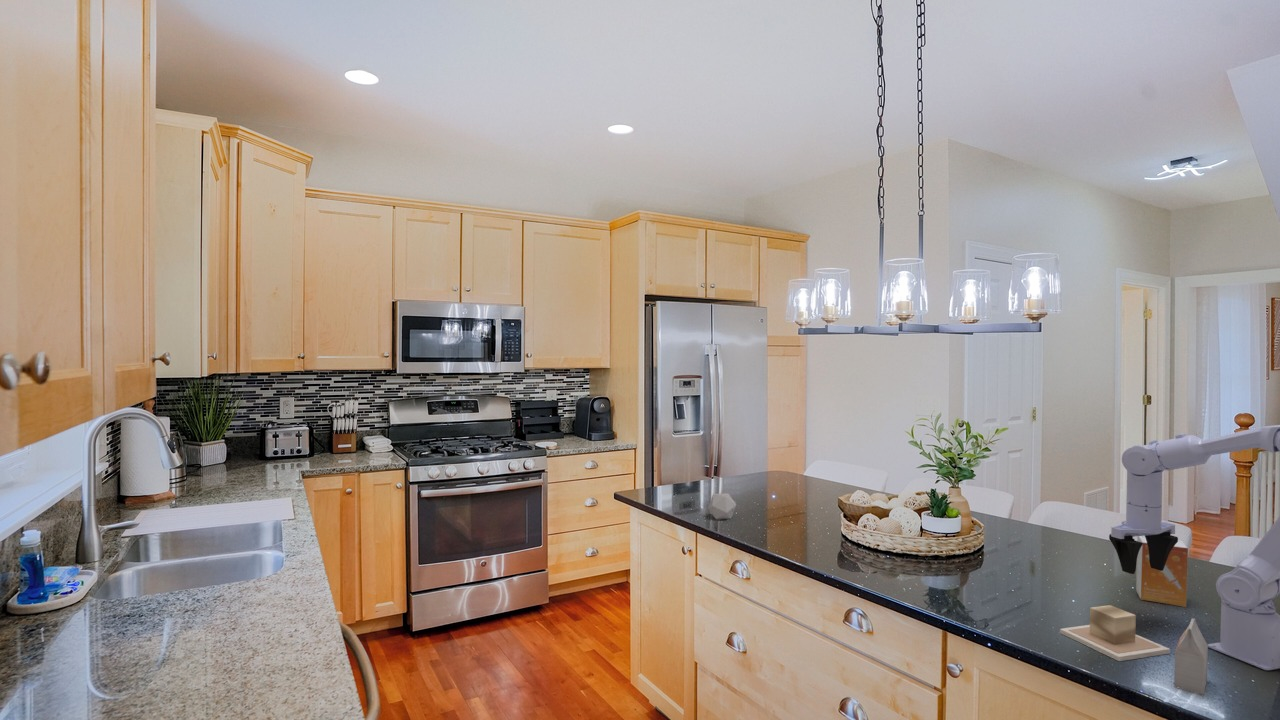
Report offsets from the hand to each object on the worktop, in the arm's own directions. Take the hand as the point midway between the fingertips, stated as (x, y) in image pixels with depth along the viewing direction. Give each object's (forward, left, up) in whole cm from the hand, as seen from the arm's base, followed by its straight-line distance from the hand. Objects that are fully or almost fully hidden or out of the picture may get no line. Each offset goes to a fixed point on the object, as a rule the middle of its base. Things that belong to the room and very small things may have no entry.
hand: (1142, 570), depth 133 cm
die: (+97, +52, -11) cm, 111 cm away
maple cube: (-6, +15, -10) cm, 19 cm away
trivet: (-6, +15, -10) cm, 19 cm away
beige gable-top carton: (-21, +17, -11) cm, 29 cm away
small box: (+8, -16, -11) cm, 21 cm away
